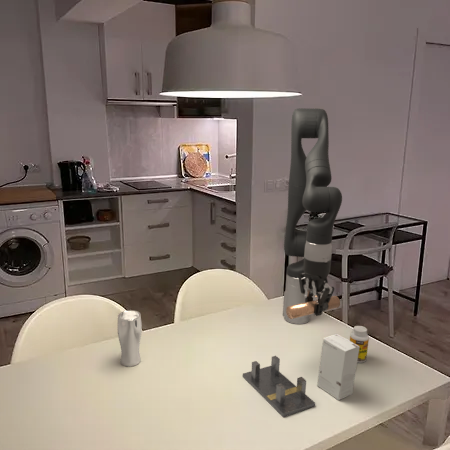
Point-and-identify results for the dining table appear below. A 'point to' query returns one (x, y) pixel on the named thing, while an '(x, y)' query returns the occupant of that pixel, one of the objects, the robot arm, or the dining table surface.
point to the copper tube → (310, 308)
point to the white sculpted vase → (129, 337)
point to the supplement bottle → (360, 341)
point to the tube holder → (279, 388)
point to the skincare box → (338, 366)
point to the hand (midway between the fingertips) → (313, 311)
